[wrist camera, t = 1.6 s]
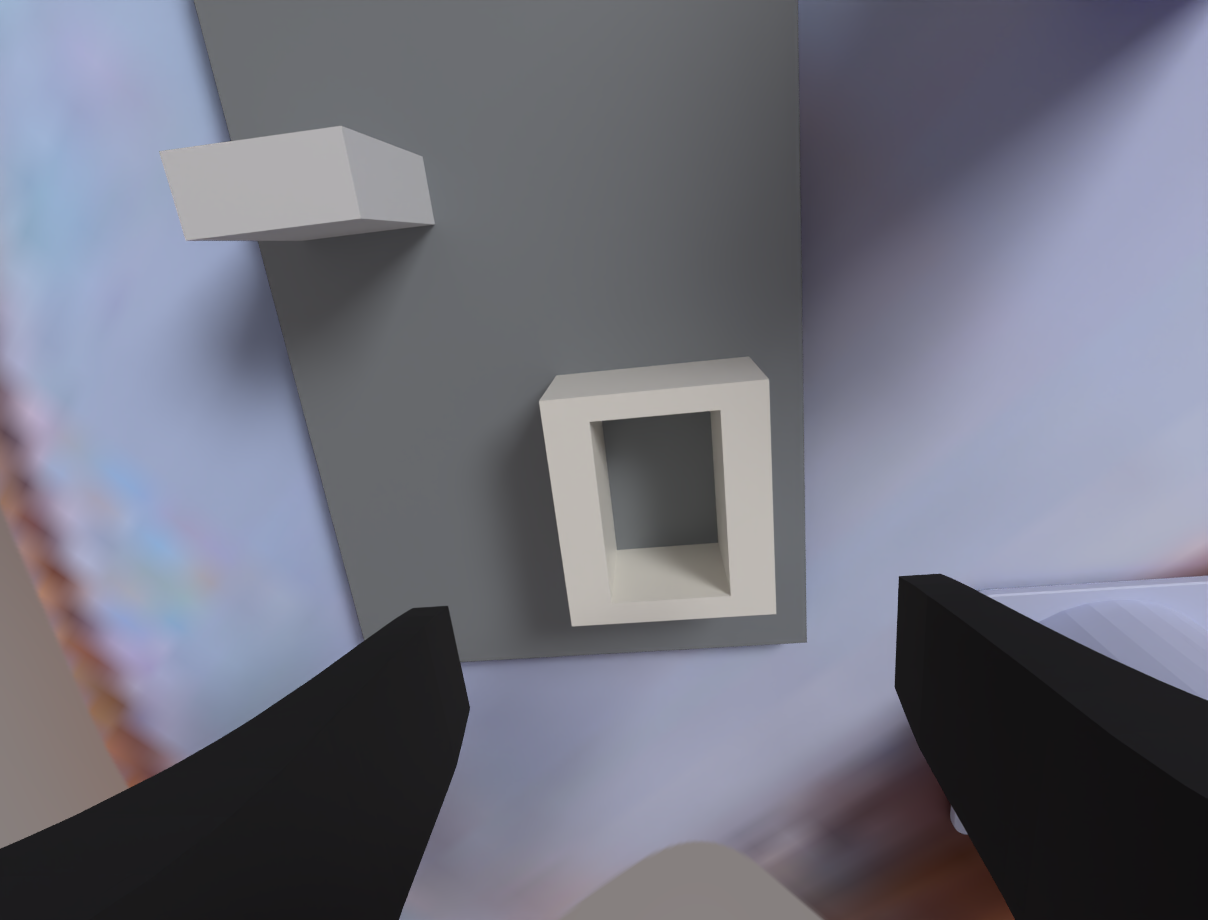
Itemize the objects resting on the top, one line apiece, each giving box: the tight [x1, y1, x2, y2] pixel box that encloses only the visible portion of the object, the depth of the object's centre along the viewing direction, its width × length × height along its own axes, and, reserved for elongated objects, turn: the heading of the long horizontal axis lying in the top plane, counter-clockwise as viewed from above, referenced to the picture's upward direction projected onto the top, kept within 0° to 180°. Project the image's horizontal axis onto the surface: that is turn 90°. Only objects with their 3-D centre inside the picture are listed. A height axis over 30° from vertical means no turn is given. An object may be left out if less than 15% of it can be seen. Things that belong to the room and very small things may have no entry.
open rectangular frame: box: [539, 356, 776, 626], centre depth 17 cm, size 5×6×3 cm
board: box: [159, 0, 807, 662], centre depth 16 cm, size 20×14×6 cm
